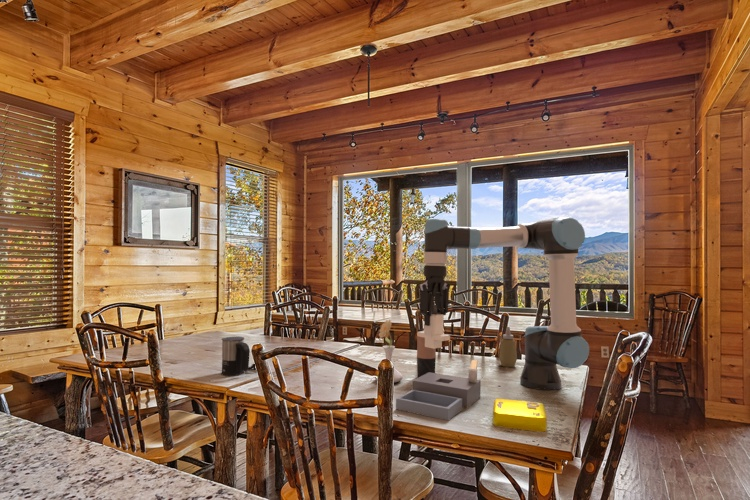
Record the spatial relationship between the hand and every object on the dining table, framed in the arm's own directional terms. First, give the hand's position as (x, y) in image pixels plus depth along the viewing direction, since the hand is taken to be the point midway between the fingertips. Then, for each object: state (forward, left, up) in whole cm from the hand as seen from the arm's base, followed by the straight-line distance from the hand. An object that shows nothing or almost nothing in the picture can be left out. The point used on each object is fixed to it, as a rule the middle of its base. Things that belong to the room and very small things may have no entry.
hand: (433, 334), depth 147 cm
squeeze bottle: (-7, -72, -24) cm, 76 cm away
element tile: (-28, -2, -24) cm, 37 cm away
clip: (-7, -21, -17) cm, 28 cm away
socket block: (-1, -11, -23) cm, 26 cm away
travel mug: (+16, -31, -24) cm, 42 cm away
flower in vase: (+26, -17, -24) cm, 39 cm away
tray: (-1, +4, -24) cm, 24 cm away
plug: (0, 0, -4) cm, 4 cm away
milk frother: (+86, +5, -24) cm, 89 cm away
